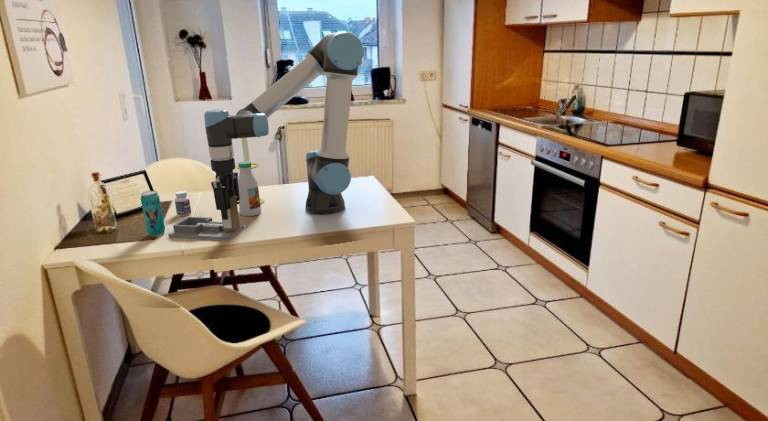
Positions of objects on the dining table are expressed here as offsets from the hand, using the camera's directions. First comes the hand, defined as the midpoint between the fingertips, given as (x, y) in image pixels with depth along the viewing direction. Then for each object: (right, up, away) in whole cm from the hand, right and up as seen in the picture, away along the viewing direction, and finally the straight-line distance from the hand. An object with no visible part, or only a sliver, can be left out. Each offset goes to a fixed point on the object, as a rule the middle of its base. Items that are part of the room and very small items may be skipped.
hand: (231, 225), depth 171 cm
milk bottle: (+1, +4, +21) cm, 22 cm away
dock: (-9, -3, +3) cm, 10 cm away
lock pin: (-5, -1, +2) cm, 6 cm away
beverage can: (-27, -3, +3) cm, 27 cm away
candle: (-2, +8, +34) cm, 36 cm away
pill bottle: (-25, +3, +23) cm, 34 cm away
